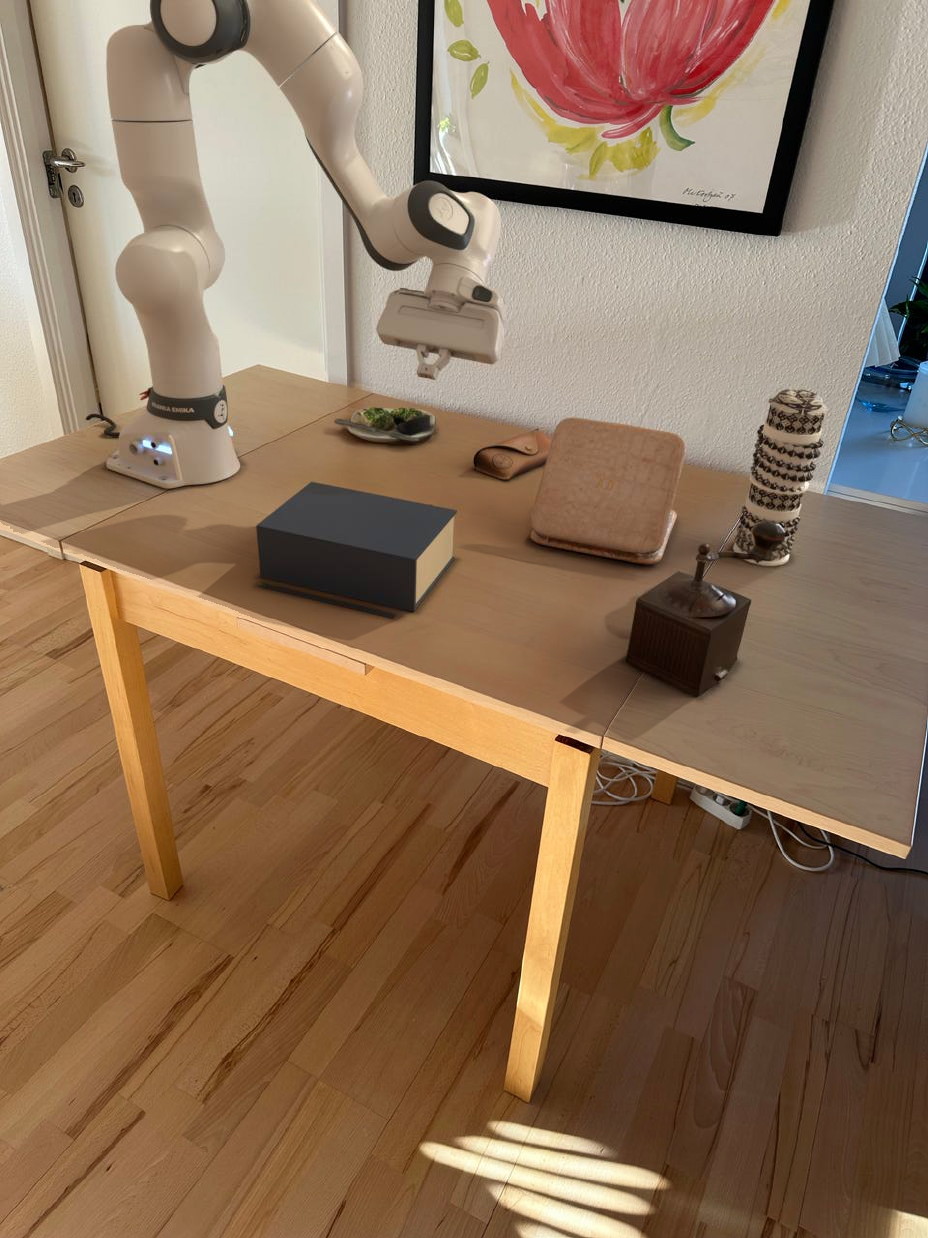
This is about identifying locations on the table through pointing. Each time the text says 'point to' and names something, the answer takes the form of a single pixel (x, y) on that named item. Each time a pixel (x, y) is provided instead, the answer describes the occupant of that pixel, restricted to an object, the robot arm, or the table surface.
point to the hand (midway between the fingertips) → (426, 376)
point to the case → (608, 490)
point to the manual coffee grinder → (695, 621)
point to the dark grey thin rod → (328, 600)
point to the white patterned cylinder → (782, 468)
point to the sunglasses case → (513, 455)
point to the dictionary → (357, 545)
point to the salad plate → (391, 425)
